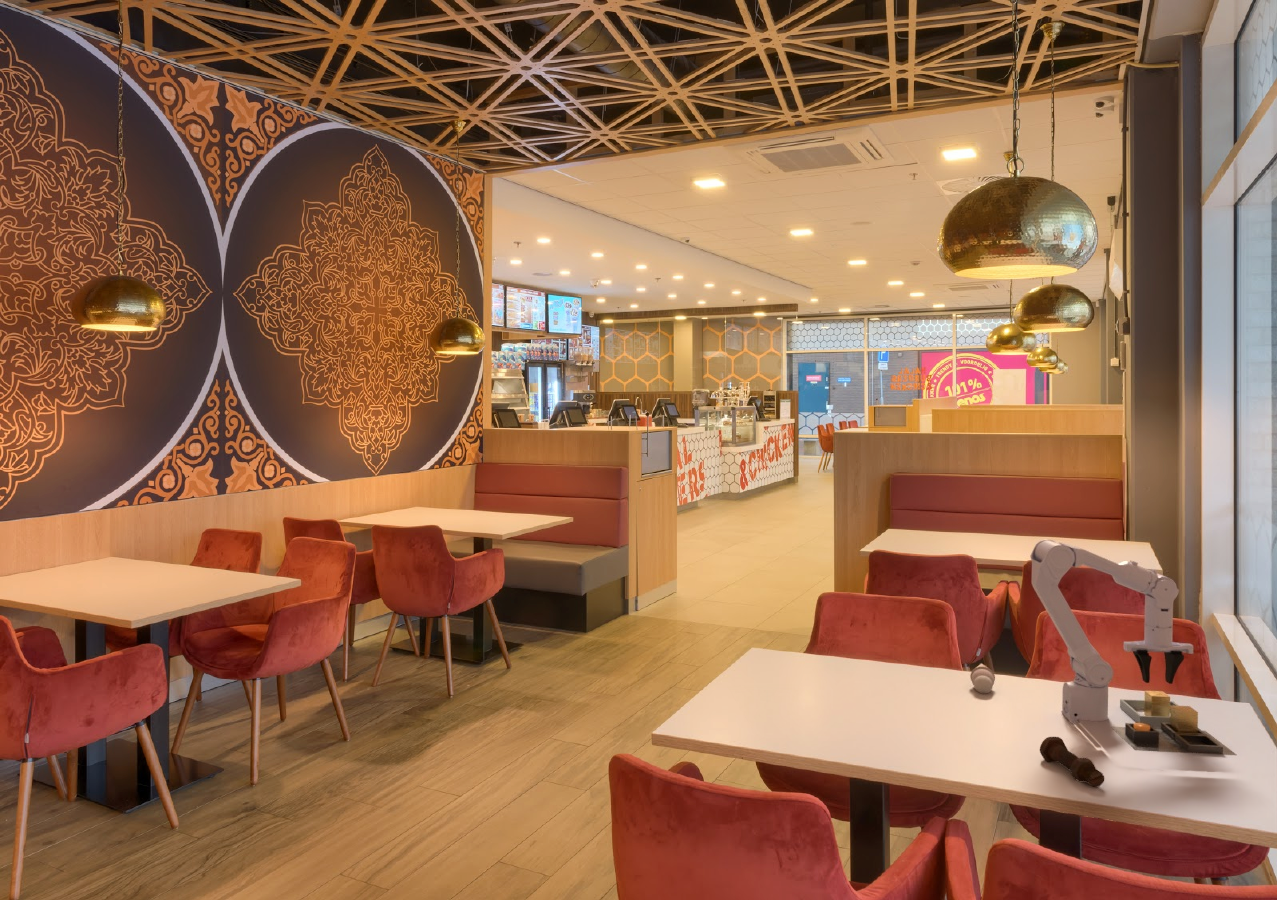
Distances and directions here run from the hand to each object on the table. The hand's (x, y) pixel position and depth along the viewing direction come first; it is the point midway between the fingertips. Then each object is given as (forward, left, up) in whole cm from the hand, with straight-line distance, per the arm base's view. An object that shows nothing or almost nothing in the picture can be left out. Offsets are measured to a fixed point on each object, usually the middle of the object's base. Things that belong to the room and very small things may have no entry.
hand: (1157, 681), depth 207 cm
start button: (-9, -15, -8) cm, 19 cm away
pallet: (-3, -15, -9) cm, 18 cm away
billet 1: (0, 0, -9) cm, 9 cm away
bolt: (-29, -34, -10) cm, 46 cm away
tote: (0, 0, -9) cm, 9 cm away
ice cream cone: (-35, +21, -10) cm, 42 cm away
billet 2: (+1, -12, -8) cm, 14 cm away
